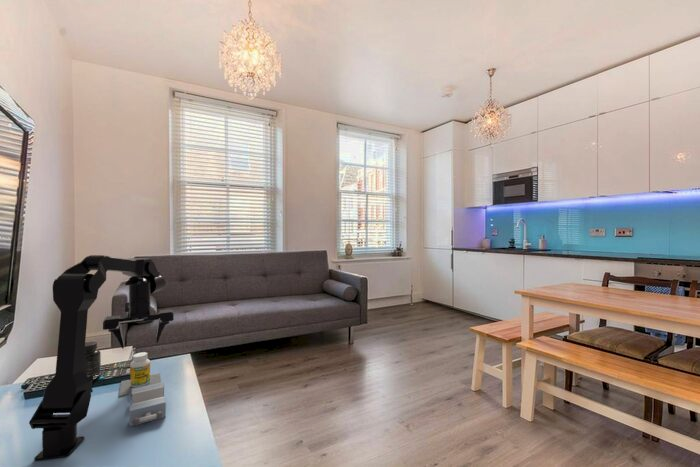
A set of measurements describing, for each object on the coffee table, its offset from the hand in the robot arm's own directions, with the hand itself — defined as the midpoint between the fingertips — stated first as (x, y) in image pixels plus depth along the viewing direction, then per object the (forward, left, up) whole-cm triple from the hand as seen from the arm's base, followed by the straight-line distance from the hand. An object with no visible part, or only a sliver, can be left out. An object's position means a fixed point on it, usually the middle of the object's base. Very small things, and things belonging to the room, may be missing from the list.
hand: (140, 345), depth 104 cm
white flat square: (0, 0, -13) cm, 13 cm away
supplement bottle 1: (+8, +19, -13) cm, 24 cm away
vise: (-17, -8, -13) cm, 23 cm away
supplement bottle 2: (0, 0, -13) cm, 13 cm away
